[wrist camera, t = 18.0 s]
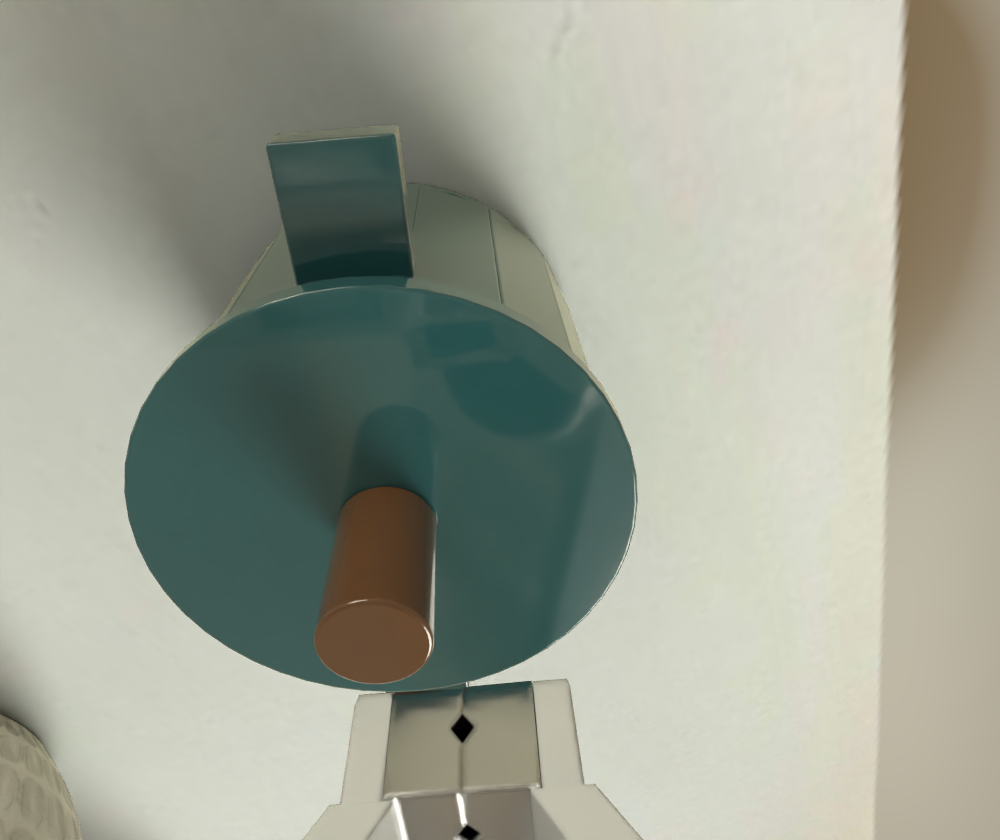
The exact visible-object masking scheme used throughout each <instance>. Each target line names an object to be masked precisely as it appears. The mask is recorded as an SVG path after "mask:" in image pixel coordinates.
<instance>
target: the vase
mask: <svg viewBox="0 0 1000 840" xmlns="http://www.w3.org/2000/svg"><path fill="white" fill-rule="evenodd" d="M0 840H83V838H82V833H81V828H80V824H79V821H78V817H77V814H76V811H75V807H74V804H73V801H72V797H71V795H70V792H69V790H68V788H67V786H66V784H65V782H64V780H63V778H62V776H61V775H60V773H59V771H58V769H57V767H56V765H55V764H54V762H53V760H52V759H51V757H50V755H49V754H48V752H47V750H46V749H45V747H44V746H43V745H42V743H41V742H40V740H39V739H38V738H37V737H36V736H35V735H34V734H33V733H31V732H30V731H29V730H28V729H26V728H25V727H24V726H22V725H20V724H19V723H17V722H15V721H14V720H12V719H10V718H8V717H5V716H3V715H1V714H0Z"/></svg>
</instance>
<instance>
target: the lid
mask: <svg viewBox="0 0 1000 840" xmlns="http://www.w3.org/2000/svg"><path fill="white" fill-rule="evenodd" d="M124 492H125V498H126V505H127V511H128V518H129V522H130V525H131V528H132V531H133V534H134V537H135V540H136V543H137V546H138V548H139V550H140V552H141V554H142V556H143V558H144V560H145V562H146V564H147V566H148V568H149V570H150V571H151V573H152V574H153V576H154V577H155V579H156V580H157V581H158V583H159V584H160V586H161V587H162V589H163V590H164V592H165V593H166V594H167V595H168V596H169V597H170V598H171V600H172V601H173V602H174V603H175V604H176V605H177V606H178V607H179V608H180V609H181V611H182V612H183V613H184V614H185V615H187V616H188V617H189V618H190V619H191V620H192V621H194V622H195V623H196V624H197V625H198V626H199V627H200V628H202V629H203V630H204V631H205V632H207V633H208V634H209V635H211V636H212V637H214V638H215V639H217V640H218V641H220V642H221V643H222V644H224V645H225V646H227V647H228V648H230V649H232V650H234V651H236V652H237V653H239V654H241V655H243V656H245V657H247V658H248V659H250V660H252V661H254V662H257V663H259V664H261V665H264V666H266V667H268V668H271V669H273V670H275V671H278V672H280V673H284V674H287V675H290V676H293V677H296V678H299V679H302V680H306V681H310V682H314V683H319V684H323V685H328V686H332V687H338V688H346V689H354V690H362V691H383V692H398V691H419V690H427V689H434V688H442V687H448V686H453V685H457V684H461V683H466V682H470V681H474V680H477V679H480V678H483V677H486V676H489V675H493V674H496V673H499V672H501V671H503V670H506V669H508V668H510V667H512V666H515V665H517V664H519V663H522V662H524V661H526V660H527V659H529V658H531V657H533V656H534V655H536V654H538V653H540V652H541V651H543V650H545V649H547V648H548V647H550V646H551V645H552V644H554V643H555V642H556V641H558V640H559V639H561V638H562V637H563V636H565V635H566V634H567V633H569V632H570V631H571V630H572V629H573V628H574V627H575V626H576V625H577V624H579V623H580V622H581V621H582V620H583V619H584V618H585V617H586V616H587V615H588V614H589V613H590V612H591V610H592V609H593V608H594V607H595V606H596V604H597V603H598V602H599V601H600V600H601V599H602V597H603V596H604V595H605V593H606V592H607V590H608V588H609V587H610V585H611V584H612V582H613V581H614V579H615V577H616V576H617V574H618V572H619V570H620V567H621V565H622V563H623V561H624V558H625V556H626V554H627V552H628V548H629V545H630V541H631V538H632V534H633V530H634V527H635V519H636V511H637V502H638V497H637V477H636V470H635V466H634V461H633V456H632V452H631V447H630V444H629V442H628V439H627V436H626V434H625V431H624V429H623V426H622V423H621V421H620V418H619V416H618V413H617V411H616V409H615V407H614V405H613V404H612V402H611V400H610V399H609V397H608V395H607V393H606V392H605V390H604V388H603V387H602V385H601V383H600V382H599V381H598V380H597V379H596V377H595V376H594V375H593V374H592V372H591V371H590V370H589V369H588V367H587V366H586V365H585V364H584V363H583V361H582V360H581V359H580V358H579V357H578V356H577V355H576V354H574V353H573V352H572V351H571V350H570V349H569V348H568V347H567V346H566V345H565V344H564V343H563V342H561V341H560V340H559V339H558V338H557V337H556V336H554V335H553V334H551V333H550V332H549V331H547V330H546V329H544V328H543V327H541V326H540V325H538V324H537V323H536V322H534V321H533V320H531V319H530V318H528V317H526V316H524V315H522V314H521V313H519V312H517V311H515V310H513V309H511V308H509V307H507V306H505V305H503V304H501V303H499V302H497V301H495V300H492V299H489V298H487V297H484V296H481V295H478V294H476V293H473V292H470V291H467V290H465V289H462V288H458V287H453V286H449V285H444V284H440V283H436V282H431V281H427V280H420V279H411V278H401V277H391V276H362V277H342V278H336V279H329V280H322V281H316V282H309V283H305V284H302V285H298V286H295V287H291V288H288V289H284V290H281V291H277V292H274V293H271V294H269V295H267V296H264V297H262V298H260V299H257V300H255V301H253V302H251V303H248V304H246V305H244V306H241V307H239V308H238V309H236V310H234V311H233V312H231V313H230V314H228V315H226V316H225V317H223V318H222V319H220V320H218V321H217V322H215V323H213V324H212V325H210V326H209V327H208V328H207V329H206V330H204V331H203V332H202V333H201V334H200V335H198V336H197V337H196V338H195V339H194V340H193V341H191V342H190V343H189V344H188V345H187V346H185V347H184V349H183V350H182V351H181V352H180V353H179V354H178V356H177V357H176V358H175V359H174V360H173V361H172V363H171V364H170V365H169V366H168V367H167V368H166V370H165V371H164V372H163V374H162V375H161V376H160V378H159V379H158V381H157V382H156V384H155V385H154V387H153V389H152V390H151V392H150V394H149V395H148V397H147V399H146V400H145V402H144V404H143V405H142V407H141V409H140V412H139V414H138V417H137V419H136V422H135V425H134V427H133V430H132V432H131V435H130V440H129V445H128V450H127V455H126V460H125V489H124Z"/></svg>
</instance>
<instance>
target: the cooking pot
mask: <svg viewBox="0 0 1000 840" xmlns="http://www.w3.org/2000/svg"><path fill="white" fill-rule="evenodd" d="M266 151H267V155H268V160H269V164H270V169H271V173H272V178H273V182H274V187H275V192H276V196H277V201H278V205H279V210H280V214H281V219H282V223H283V227H282V228H281V230H280V231H279V232H278V234H277V235H276V236H275V238H274V239H273V241H272V242H271V243H270V244H269V245H268V247H267V248H266V250H265V251H264V253H263V254H262V256H261V257H260V258H259V260H258V261H257V262H256V264H255V265H254V266H253V268H252V269H251V271H250V272H249V273H248V275H247V276H246V278H245V279H244V281H243V282H242V284H241V285H240V287H239V288H238V290H237V291H236V293H235V295H234V296H233V298H232V299H231V301H230V302H229V304H228V305H227V307H226V308H225V310H224V311H223V313H222V314H221V316H220V317H219V319H218V320H220V319H222V318H223V317H225V316H226V315H228V314H230V313H231V312H233V311H234V310H236V309H238V308H239V307H241V306H244V305H246V304H248V303H251V302H253V301H255V300H257V299H260V298H262V297H264V296H267V295H269V294H271V293H274V292H277V291H281V290H284V289H288V288H291V287H295V286H298V285H302V284H305V283H309V282H316V281H322V280H329V279H336V278H342V277H362V276H391V277H401V278H411V279H420V280H427V281H431V282H436V283H440V284H444V285H449V286H453V287H458V288H462V289H465V290H467V291H470V292H473V293H476V294H478V295H481V296H484V297H487V298H489V299H492V300H495V301H497V302H499V303H501V304H503V305H505V306H507V307H509V308H511V309H513V310H515V311H517V312H519V313H521V314H522V315H524V316H526V317H528V318H530V319H531V320H533V321H534V322H536V323H537V324H538V325H540V326H541V327H543V328H544V329H546V330H547V331H549V332H550V333H551V334H553V335H554V336H556V337H557V338H558V339H559V340H560V341H561V342H563V343H564V344H565V345H566V346H567V347H568V348H569V349H570V350H571V351H572V352H573V353H574V354H576V355H577V356H578V357H579V358H580V359H581V360H582V361H583V363H584V364H585V365H586V366H587V367H588V365H587V362H586V359H585V356H584V353H583V350H582V347H581V344H580V341H579V338H578V335H577V332H576V329H575V326H574V323H573V320H572V317H571V314H570V311H569V308H568V305H567V303H566V301H565V299H564V297H563V295H562V293H561V291H560V289H559V287H558V284H557V282H556V279H555V277H554V275H553V273H552V271H551V269H550V268H549V266H548V264H547V262H546V260H545V258H544V256H543V254H542V253H541V251H540V250H539V249H538V248H537V247H536V246H534V244H533V243H532V242H531V240H530V239H529V238H527V237H526V236H525V235H524V234H523V233H522V232H521V231H520V230H519V229H518V228H517V227H516V226H515V225H514V224H513V223H511V222H510V221H509V220H507V219H506V218H505V217H503V216H502V215H501V214H499V213H498V212H497V211H495V210H493V209H491V208H490V207H488V206H486V205H484V204H482V203H481V202H479V201H477V200H475V199H472V198H470V197H467V196H465V195H462V194H460V193H457V192H455V191H451V190H447V189H443V188H439V187H435V186H430V185H422V184H413V183H406V179H405V171H404V163H403V156H402V148H401V140H400V133H399V128H398V126H397V125H394V124H393V125H381V126H369V127H357V128H344V129H332V130H320V131H308V132H295V133H283V134H277V135H276V136H275V137H273V138H272V139H271V140H270V141H269V142H268V143H267V144H266ZM218 320H217V321H218ZM588 369H589V368H588ZM463 687H471V686H470V682H466V683H461V684H457V685H453V686H448V687H442V688H434V689H427V690H419V691H428V690H447V689H463ZM398 692H409V691H398ZM386 693H392V692H386Z"/></svg>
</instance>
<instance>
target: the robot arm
mask: <svg viewBox="0 0 1000 840" xmlns="http://www.w3.org/2000/svg"><path fill="white" fill-rule="evenodd" d="M302 840H643V839H642V838H641V837H640V835H639V834H638V833H637V832H636V831H635V830H634V829H633V827H632V826H631V825H630V824H629V823H628V822H627V820H626V819H625V818H624V817H623V816H622V815H621V813H620V812H619V811H618V810H617V809H616V808H615V807H614V805H613V804H612V803H611V802H610V801H609V800H608V798H607V797H606V796H605V795H604V794H603V793H602V791H601V790H600V789H599V788H598V787H597V786H596V785H595V784H588V785H584V778H583V771H582V764H581V758H580V751H579V744H578V737H577V730H576V724H575V717H574V710H573V703H572V696H571V690H570V684H569V682H568V680H567V679H558V680H545V681H533V683H532V682H531V681H524V682H514V683H503V684H492V685H482V686H471V687H463V689H447V690H428V691H409V692H392V693H378V694H363V695H359V697H358V699H357V702H356V704H355V707H354V714H353V721H352V727H351V734H350V741H349V747H348V754H347V761H346V767H345V774H344V781H343V787H342V794H341V801H340V804H336V805H329V806H328V808H327V809H326V810H325V811H324V813H323V814H322V815H321V816H320V818H319V819H318V820H317V822H316V823H315V824H314V825H313V827H312V828H311V829H310V830H309V832H308V833H307V834H306V835H305V837H304V838H303V839H302Z"/></svg>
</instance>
